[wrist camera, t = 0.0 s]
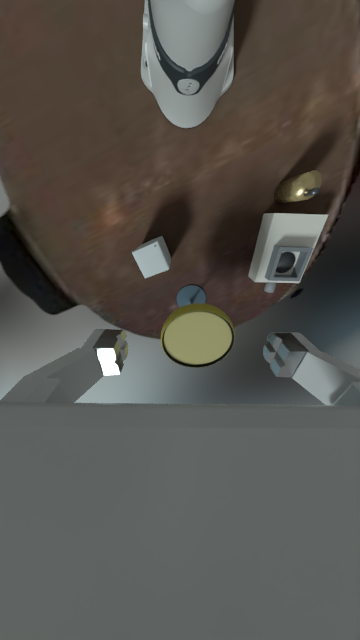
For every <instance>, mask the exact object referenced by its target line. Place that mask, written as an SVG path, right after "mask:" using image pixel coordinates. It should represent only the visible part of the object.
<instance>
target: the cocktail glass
mask: <svg viewBox="0 0 360 640" xmlns="http://www.w3.org/2000/svg"><path fill="white" fill-rule="evenodd" d="M205 301H206V295H205V292H204V291H203V290H202V289H201V288H200V287H198V286H195V285H188V286H185V287H183V288H182V289H181V290H180V291H179V292H178V295H177V303H178V305H179V307H180V308H178V309H177V310H175V311H174V312H173V313H172V314H171V315H169V317H168V318H167V319H166V321H165V323H164V325H163V328H162V332H161V344H162V348H163V350H164V352H165V354H166V355H167V356H168V357H169V358H170V359H171V360H172V361H174V362H175V363H177V364H180V365H183V366H186V367H195V368H199V367H206V366H209V365H213V364H215V363H217V362H219V361H220V360H222V359H223V358H224V357H225V356H227V355H228V353H229V352H230V351H231V349H232V347H233V345H234V340H235V332H234V328H233V325H232V322H231V321H230V319H229V318H228V316H227V315H226V314H225V313H224V312H223V311H221V310H220V309H219V308H217V307H215V306H212V305H209V304H205Z"/></svg>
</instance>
